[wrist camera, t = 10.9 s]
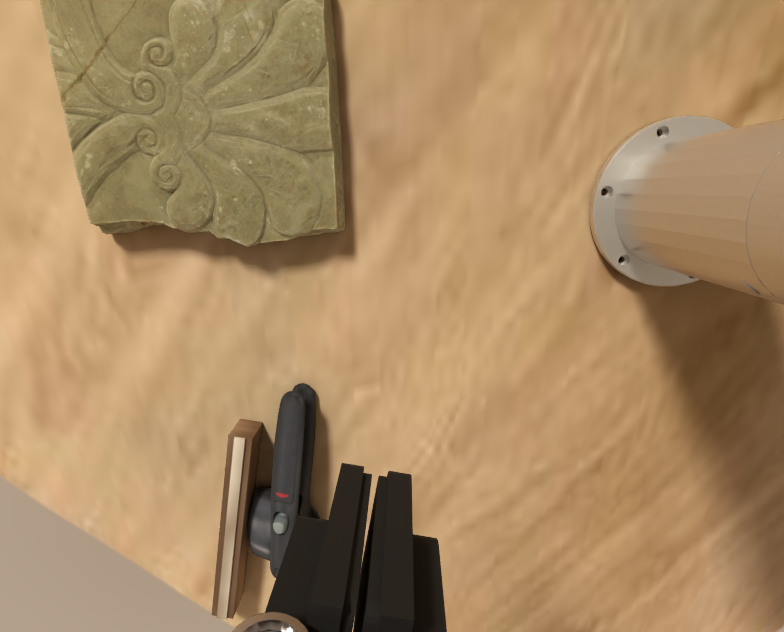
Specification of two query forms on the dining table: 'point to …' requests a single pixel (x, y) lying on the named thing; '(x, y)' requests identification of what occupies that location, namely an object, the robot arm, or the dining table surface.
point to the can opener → (285, 479)
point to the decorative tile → (202, 114)
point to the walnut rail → (236, 516)
